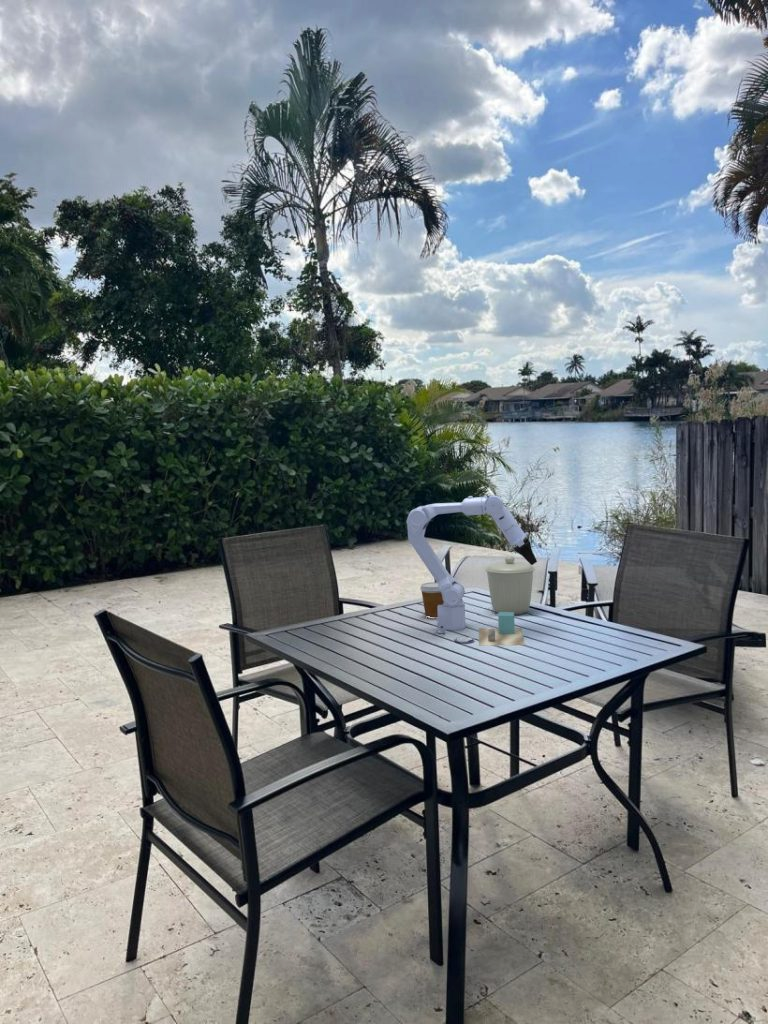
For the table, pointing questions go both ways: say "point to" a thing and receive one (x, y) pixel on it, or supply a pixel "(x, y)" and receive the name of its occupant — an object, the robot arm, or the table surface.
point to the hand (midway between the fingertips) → (533, 562)
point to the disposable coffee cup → (431, 598)
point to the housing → (506, 623)
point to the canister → (510, 585)
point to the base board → (500, 637)
